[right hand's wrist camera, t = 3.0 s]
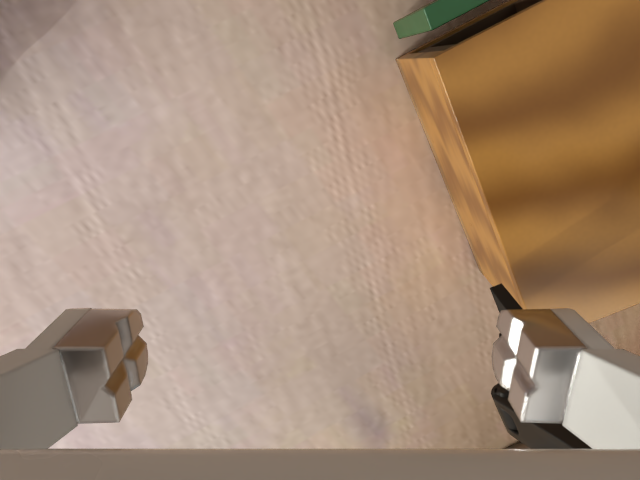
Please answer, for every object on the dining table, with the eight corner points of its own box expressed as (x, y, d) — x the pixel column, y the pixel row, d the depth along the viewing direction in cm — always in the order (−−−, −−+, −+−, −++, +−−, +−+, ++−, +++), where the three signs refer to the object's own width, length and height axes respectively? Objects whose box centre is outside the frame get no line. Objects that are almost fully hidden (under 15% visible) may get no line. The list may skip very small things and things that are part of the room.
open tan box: (395, 59, 34) (433, 57, 23) (529, -11, 32) (635, -46, 22) (479, 270, 41) (538, 343, 30) (594, 221, 39) (698, 280, 29)
